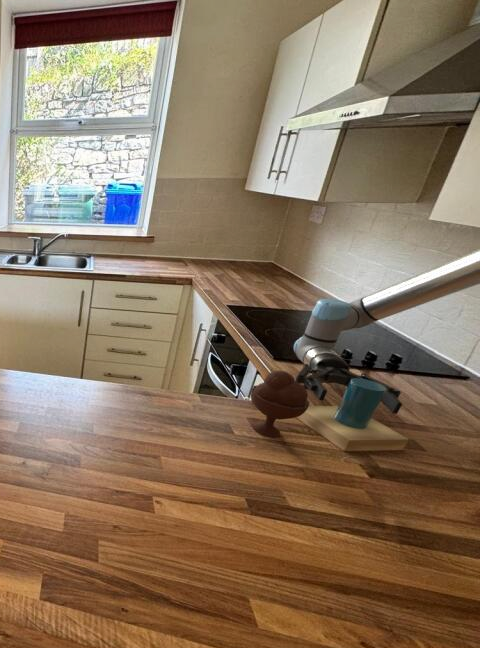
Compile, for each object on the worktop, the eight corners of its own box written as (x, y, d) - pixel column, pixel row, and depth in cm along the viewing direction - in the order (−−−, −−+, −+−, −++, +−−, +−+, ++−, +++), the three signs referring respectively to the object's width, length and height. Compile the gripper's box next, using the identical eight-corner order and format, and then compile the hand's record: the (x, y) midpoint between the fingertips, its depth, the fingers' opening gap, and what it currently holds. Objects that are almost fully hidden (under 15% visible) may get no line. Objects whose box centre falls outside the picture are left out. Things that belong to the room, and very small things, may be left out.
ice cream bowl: (235, 431, 95) (255, 374, 89) (245, 412, 102) (264, 359, 96) (290, 451, 88) (316, 391, 82) (296, 430, 96) (320, 374, 90)
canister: (374, 428, 92) (394, 390, 88) (349, 429, 91) (368, 391, 87) (350, 414, 97) (368, 378, 93) (326, 414, 97) (343, 378, 93)
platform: (402, 450, 90) (409, 439, 88) (344, 451, 89) (349, 440, 87) (345, 415, 102) (350, 405, 101) (293, 416, 101) (297, 406, 100)
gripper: (377, 386, 107) (422, 428, 89) (267, 368, 116) (288, 403, 98) (390, 361, 104) (439, 399, 86) (276, 345, 113) (300, 376, 95)
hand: (359, 401), depth 92 cm, fingers open, 13 cm apart
